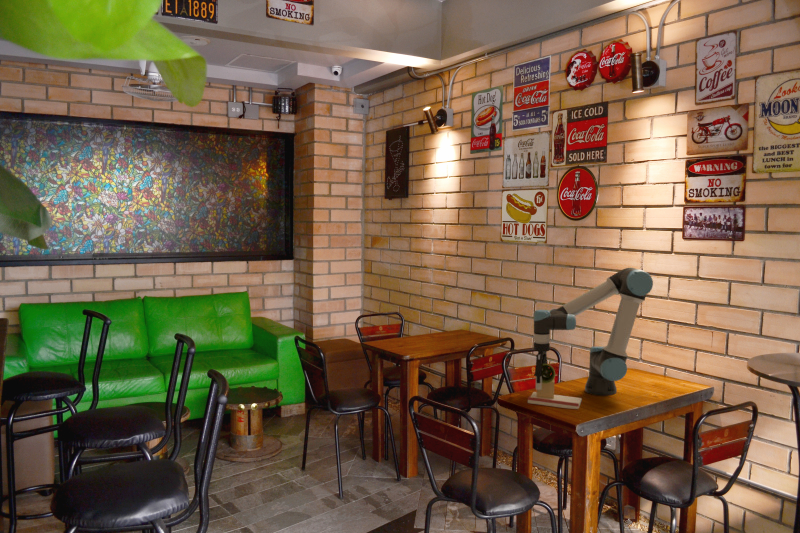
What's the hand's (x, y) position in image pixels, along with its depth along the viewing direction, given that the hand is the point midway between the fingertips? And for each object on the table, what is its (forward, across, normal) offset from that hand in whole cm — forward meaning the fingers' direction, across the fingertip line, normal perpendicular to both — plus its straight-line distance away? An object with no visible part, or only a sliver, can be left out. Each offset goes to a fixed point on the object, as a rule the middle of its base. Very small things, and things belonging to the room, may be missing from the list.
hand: (541, 385), depth 286 cm
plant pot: (-6, -5, +2) cm, 8 cm away
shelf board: (+7, +2, +7) cm, 10 cm away
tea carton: (-3, 0, +2) cm, 4 cm away
